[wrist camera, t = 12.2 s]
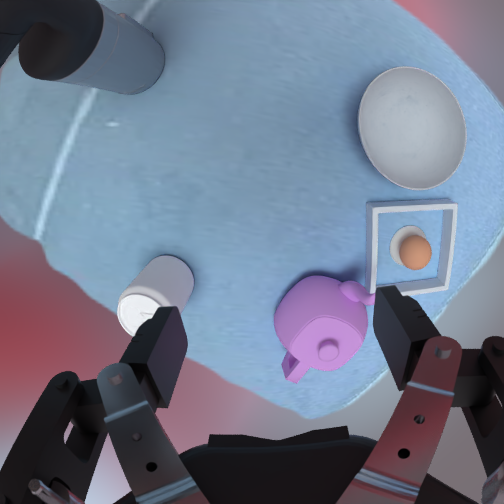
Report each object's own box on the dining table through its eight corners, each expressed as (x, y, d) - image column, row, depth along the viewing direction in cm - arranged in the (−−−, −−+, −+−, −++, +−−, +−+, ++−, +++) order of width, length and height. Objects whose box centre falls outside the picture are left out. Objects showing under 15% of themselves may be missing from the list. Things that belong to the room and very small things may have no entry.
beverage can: (146, 250, 45) (111, 285, 34) (196, 257, 45) (173, 297, 34) (147, 295, 48) (117, 337, 37) (194, 304, 48) (173, 350, 37)
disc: (390, 226, 41) (390, 227, 41) (427, 224, 41) (427, 224, 40) (388, 266, 44) (389, 267, 43) (423, 262, 43) (424, 263, 43)
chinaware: (453, 125, 35) (483, 126, 28) (402, 201, 40) (425, 214, 33) (379, 56, 33) (400, 42, 25) (321, 135, 38) (332, 135, 30)
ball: (395, 231, 41) (408, 243, 37) (423, 229, 41) (438, 240, 36) (393, 263, 43) (405, 277, 38) (421, 260, 42) (435, 273, 38)
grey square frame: (366, 202, 40) (372, 207, 38) (447, 199, 39) (457, 203, 36) (364, 291, 45) (369, 300, 43) (440, 281, 44) (447, 289, 41)
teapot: (391, 278, 44) (418, 316, 34) (315, 363, 51) (321, 409, 41) (326, 233, 42) (342, 264, 32) (251, 330, 49) (246, 377, 39)
